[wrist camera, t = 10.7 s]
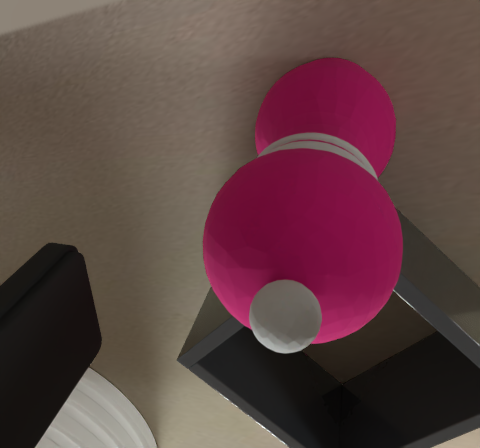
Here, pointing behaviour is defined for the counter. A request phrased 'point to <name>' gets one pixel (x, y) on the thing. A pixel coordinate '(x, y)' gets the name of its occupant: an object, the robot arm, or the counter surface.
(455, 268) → the open box
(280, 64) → the counter surface
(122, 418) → the plate stack
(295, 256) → the pepper mill
